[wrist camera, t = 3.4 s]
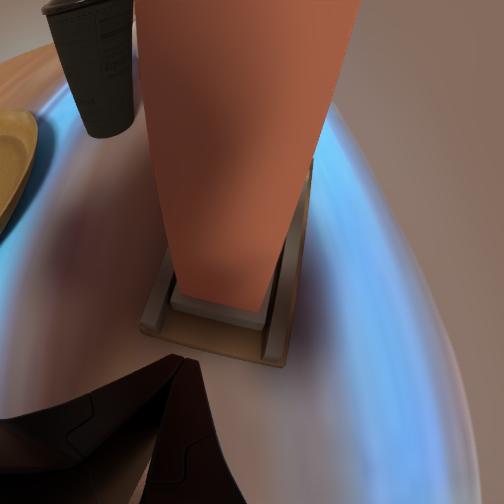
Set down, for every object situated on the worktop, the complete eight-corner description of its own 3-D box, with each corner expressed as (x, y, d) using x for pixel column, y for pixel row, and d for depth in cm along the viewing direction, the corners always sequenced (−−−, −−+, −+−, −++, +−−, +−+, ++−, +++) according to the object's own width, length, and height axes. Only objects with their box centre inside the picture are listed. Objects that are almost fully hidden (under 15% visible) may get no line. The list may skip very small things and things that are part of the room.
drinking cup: (113, 96, 28) (97, -73, 11) (164, 113, 27) (161, -89, 10) (59, 135, 24) (18, -51, 7) (106, 158, 23) (68, -78, 6)
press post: (261, 330, 16) (393, 2, 3) (173, 309, 16) (100, -24, 3) (276, 251, 19) (359, -23, 6) (198, 233, 19) (197, -46, 6)
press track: (281, 368, 16) (299, 352, 13) (141, 333, 16) (122, 308, 13) (310, 167, 25) (323, 129, 21) (215, 146, 25) (217, 107, 21)
